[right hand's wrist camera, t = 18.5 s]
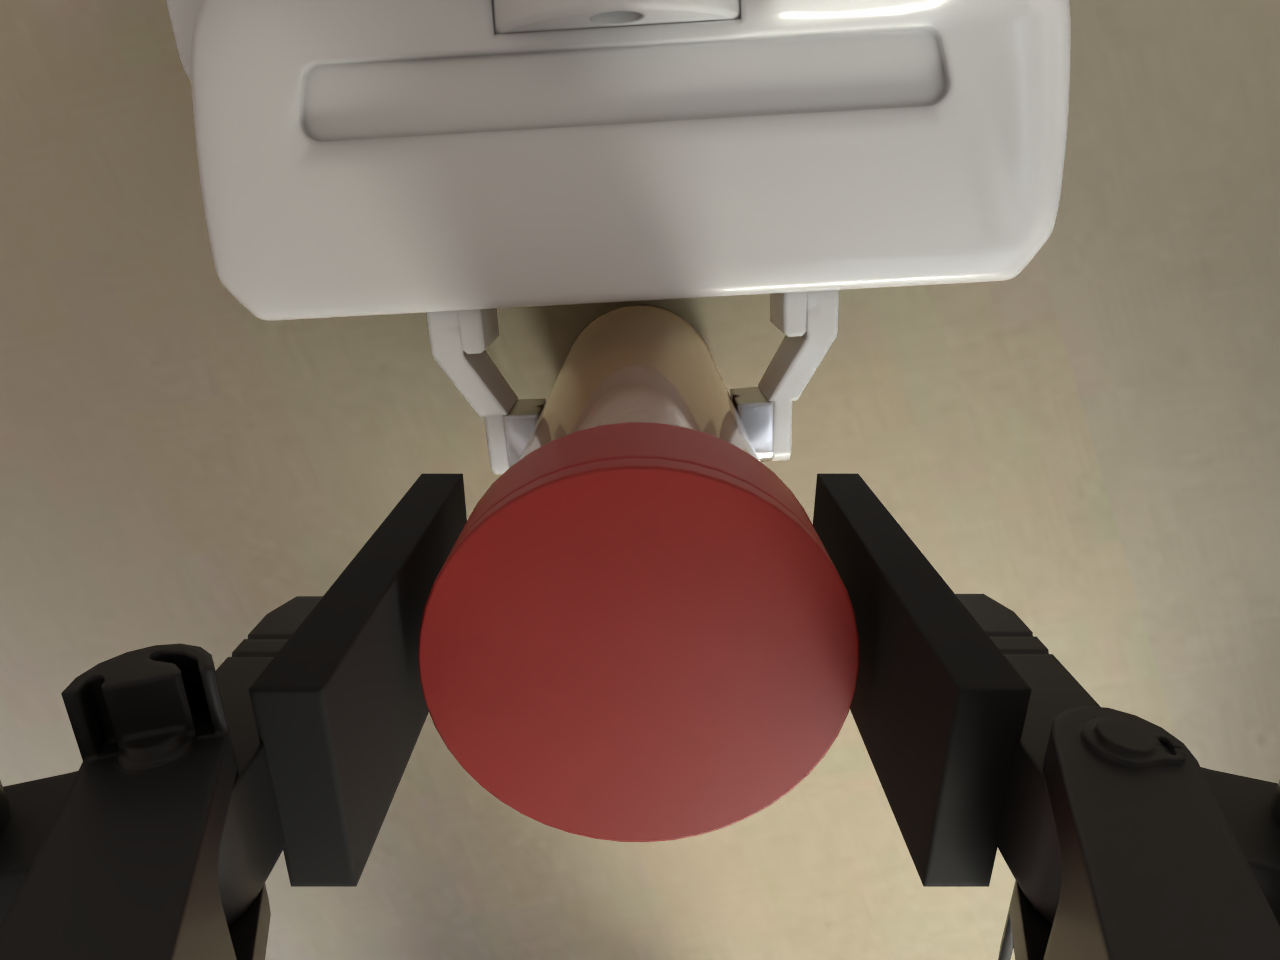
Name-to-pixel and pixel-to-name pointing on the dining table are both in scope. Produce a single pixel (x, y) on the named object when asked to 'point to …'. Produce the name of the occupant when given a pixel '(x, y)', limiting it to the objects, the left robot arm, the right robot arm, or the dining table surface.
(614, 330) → the jar
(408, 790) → the dining table surface
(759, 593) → the lid
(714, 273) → the left robot arm
